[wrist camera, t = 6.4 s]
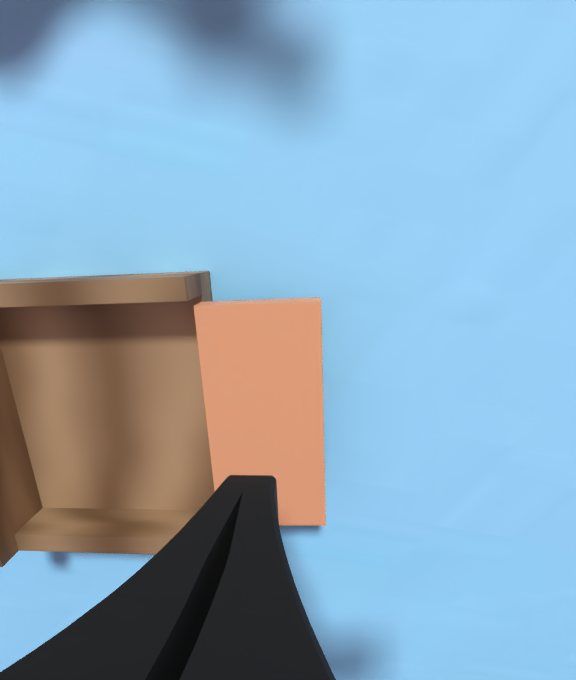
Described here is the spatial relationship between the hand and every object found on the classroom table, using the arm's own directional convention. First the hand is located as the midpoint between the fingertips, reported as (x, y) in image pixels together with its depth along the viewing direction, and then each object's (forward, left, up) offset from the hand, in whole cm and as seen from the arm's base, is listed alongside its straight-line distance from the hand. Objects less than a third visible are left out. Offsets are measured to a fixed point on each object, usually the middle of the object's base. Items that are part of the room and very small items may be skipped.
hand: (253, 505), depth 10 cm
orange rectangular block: (-3, 0, -8) cm, 8 cm away
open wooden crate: (-9, +2, -9) cm, 13 cm away
